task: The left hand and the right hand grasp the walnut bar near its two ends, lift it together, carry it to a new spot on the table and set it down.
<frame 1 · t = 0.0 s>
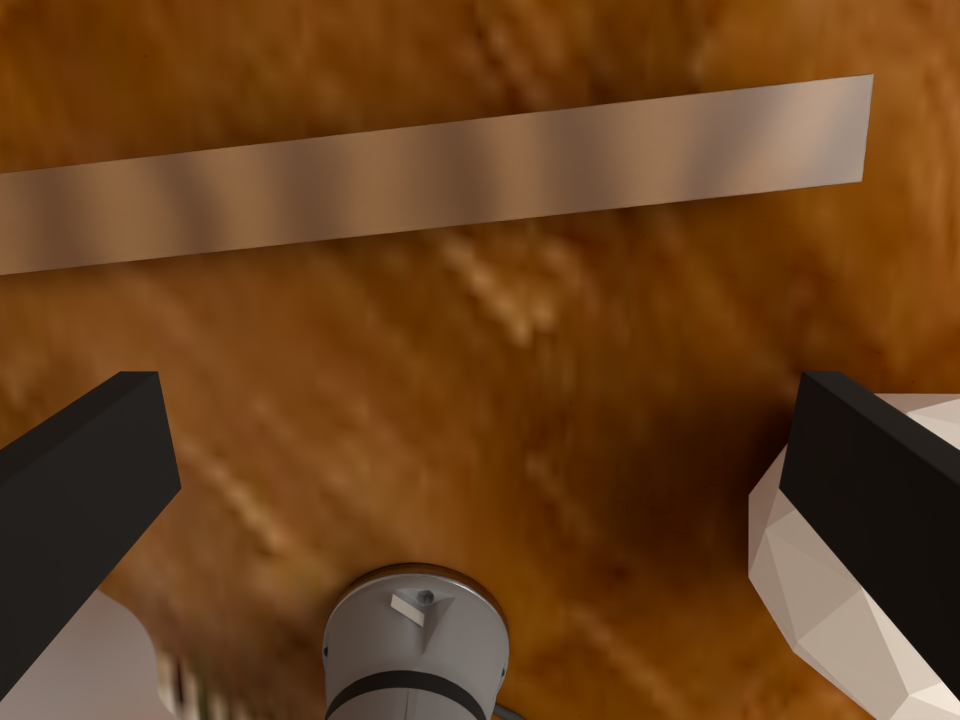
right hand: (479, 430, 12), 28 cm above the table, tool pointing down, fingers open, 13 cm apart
sphere: (835, 471, 45), on the table
bar: (339, 181, 38), on the table
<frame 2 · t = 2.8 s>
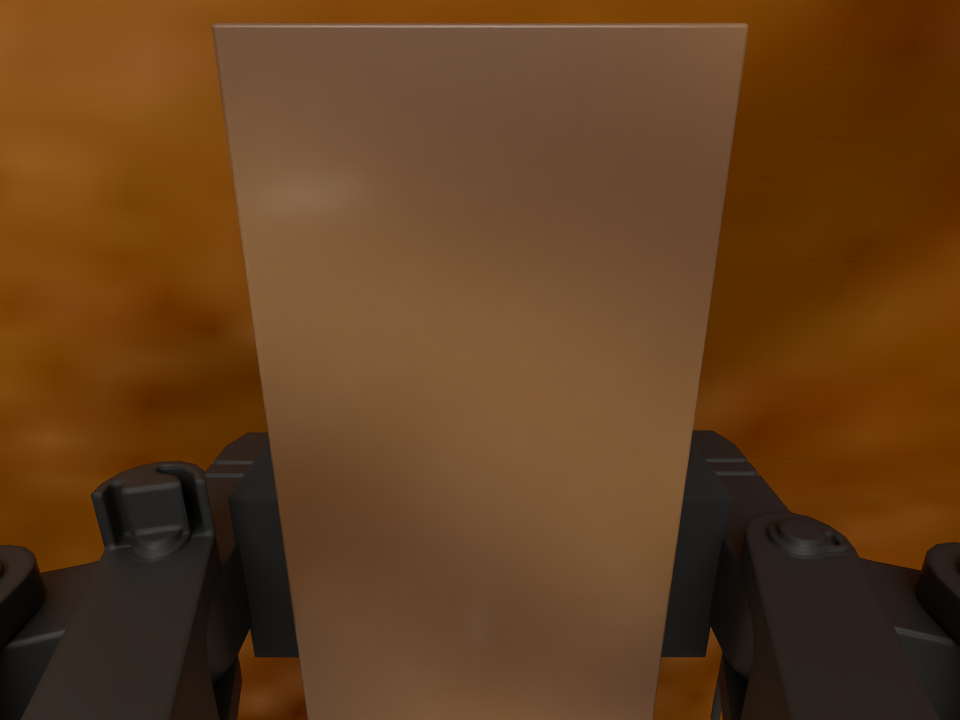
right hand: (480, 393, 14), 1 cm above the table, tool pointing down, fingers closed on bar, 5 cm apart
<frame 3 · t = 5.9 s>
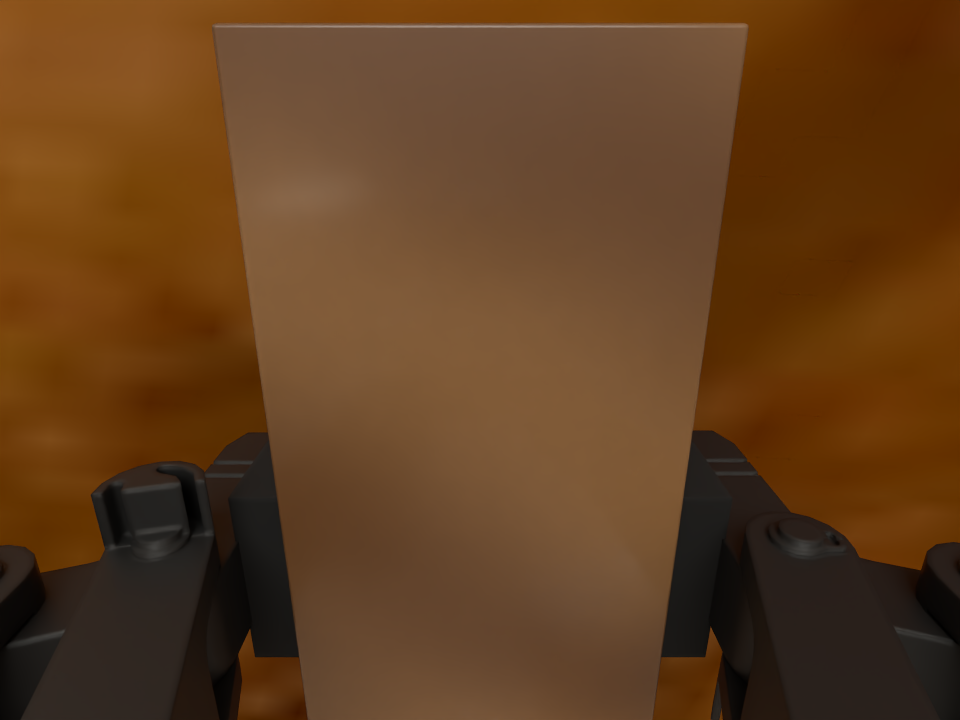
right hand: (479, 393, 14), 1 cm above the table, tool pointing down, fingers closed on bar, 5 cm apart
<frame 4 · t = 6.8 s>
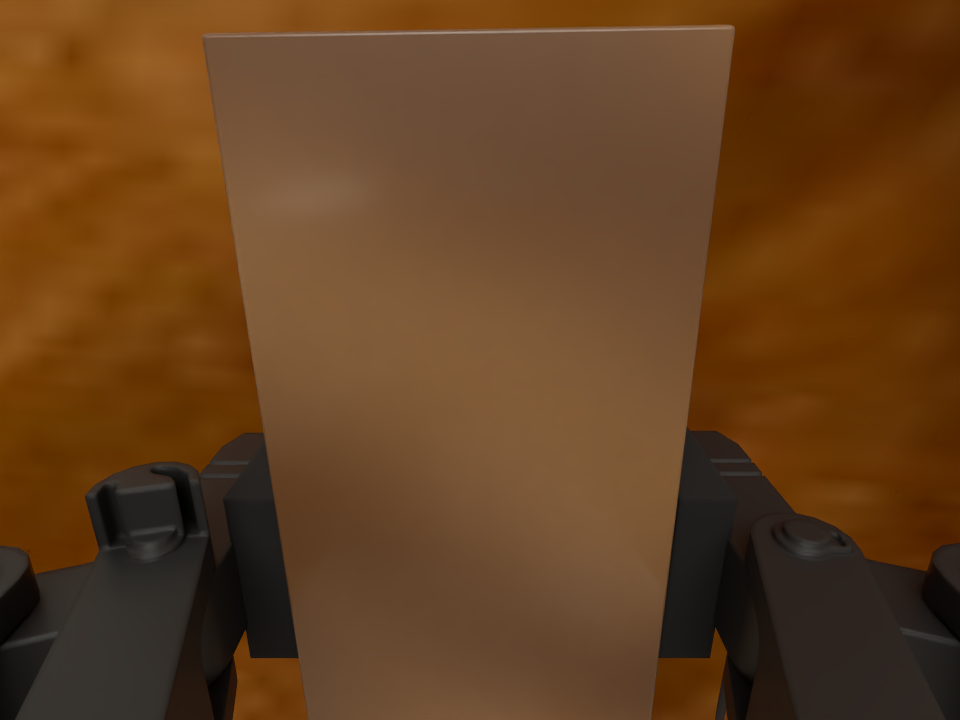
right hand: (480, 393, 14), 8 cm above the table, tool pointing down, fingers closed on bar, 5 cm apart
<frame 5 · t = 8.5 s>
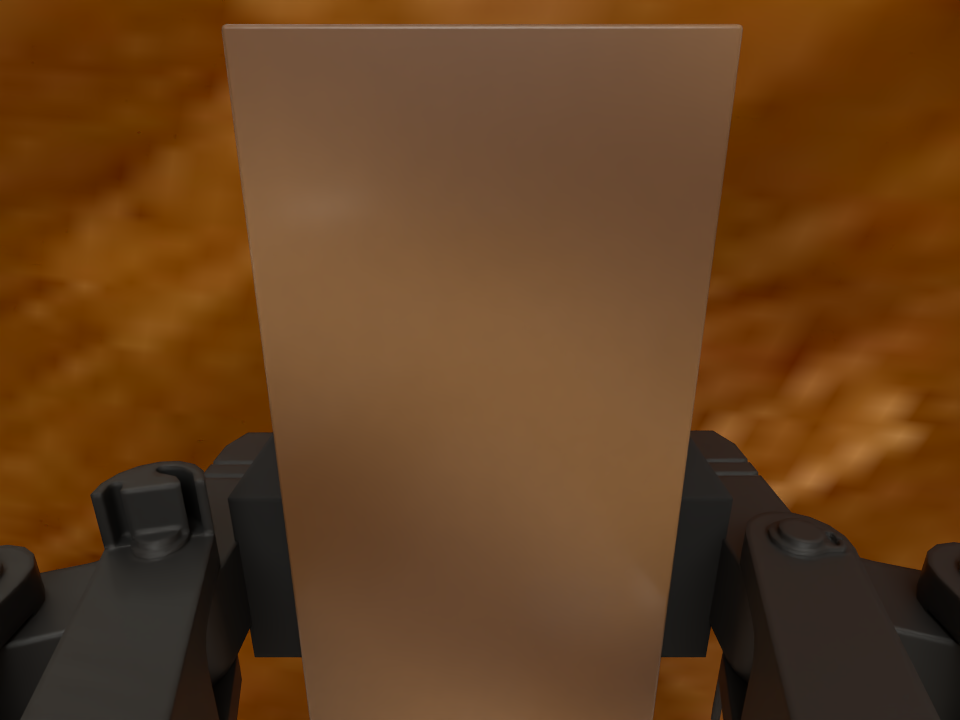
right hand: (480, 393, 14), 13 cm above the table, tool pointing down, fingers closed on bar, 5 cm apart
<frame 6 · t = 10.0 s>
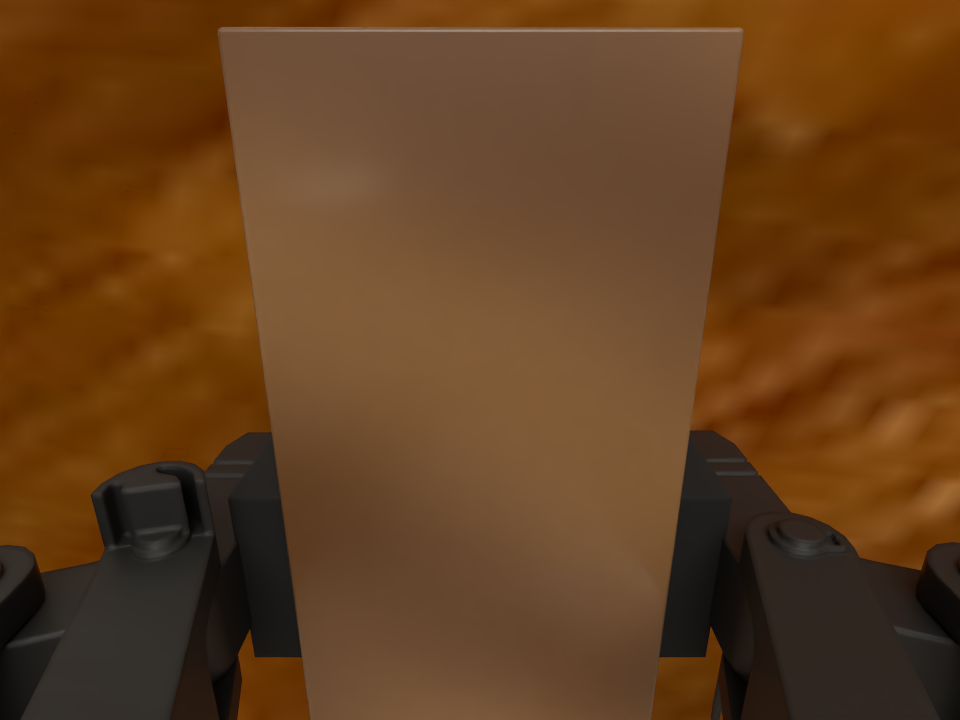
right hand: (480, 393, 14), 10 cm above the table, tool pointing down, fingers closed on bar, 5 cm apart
when the left hand's fingers open (2 cm above the table, at t = 11.1 s): bar drops 2 cm, on the table.
when the right hand's fingers open (2 cm above the table, at t = 11.1 s): bar drops 2 cm, on the table.
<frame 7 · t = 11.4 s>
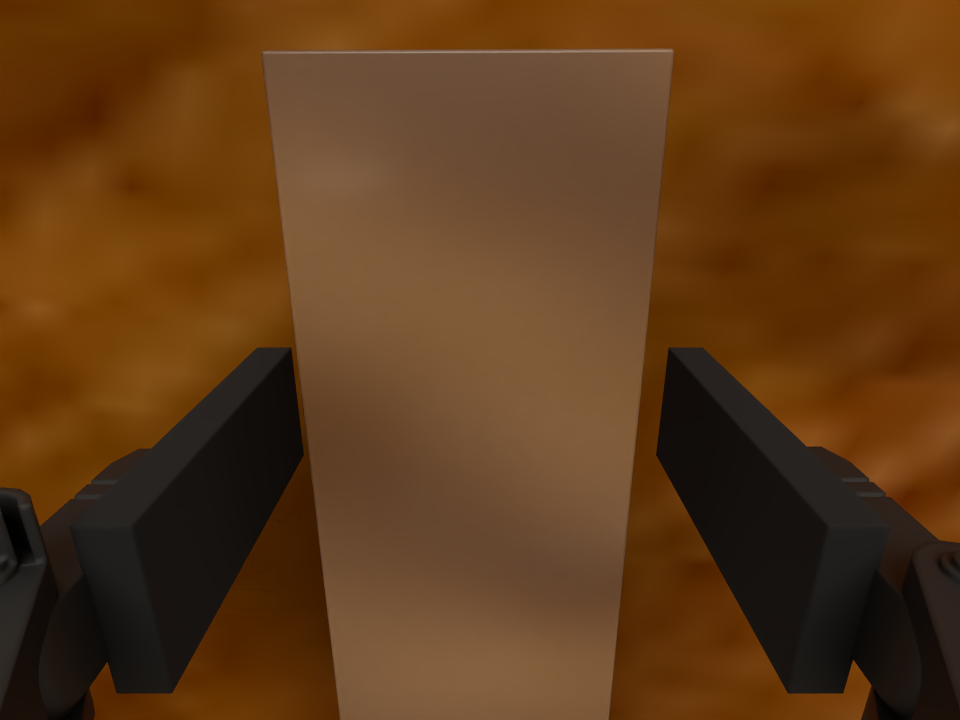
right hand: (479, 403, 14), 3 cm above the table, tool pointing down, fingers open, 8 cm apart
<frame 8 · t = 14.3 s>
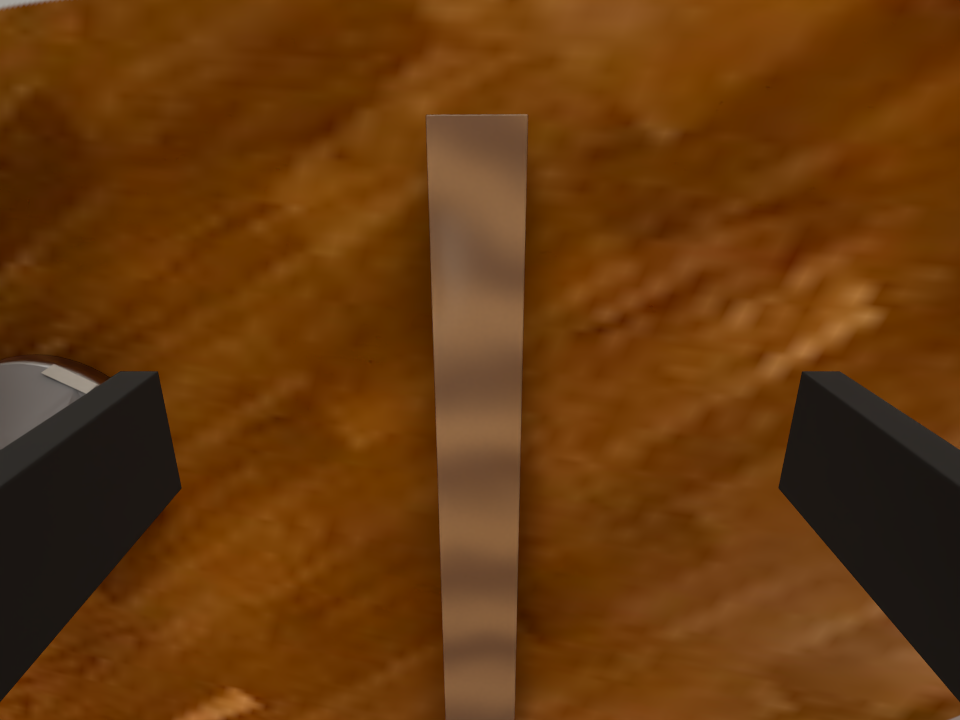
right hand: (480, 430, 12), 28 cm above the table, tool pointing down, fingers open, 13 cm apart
bar: (479, 512, 46), on the table
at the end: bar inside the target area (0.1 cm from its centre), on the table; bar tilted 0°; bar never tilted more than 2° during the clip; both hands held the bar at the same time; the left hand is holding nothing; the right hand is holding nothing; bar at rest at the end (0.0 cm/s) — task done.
